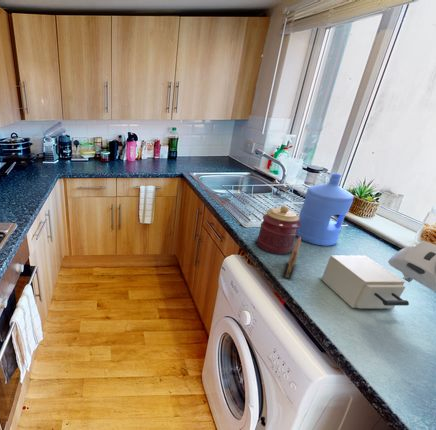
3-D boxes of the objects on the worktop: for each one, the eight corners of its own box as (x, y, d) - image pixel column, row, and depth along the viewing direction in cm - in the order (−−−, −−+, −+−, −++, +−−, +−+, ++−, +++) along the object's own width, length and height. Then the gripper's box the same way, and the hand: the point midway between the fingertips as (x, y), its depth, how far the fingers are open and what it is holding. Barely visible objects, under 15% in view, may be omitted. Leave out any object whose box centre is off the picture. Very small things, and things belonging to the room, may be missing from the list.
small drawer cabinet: (390, 307, 85) (405, 281, 81) (352, 307, 84) (365, 281, 80) (354, 279, 97) (365, 255, 93) (321, 279, 97) (330, 255, 93)
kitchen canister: (298, 248, 115) (311, 208, 107) (281, 258, 108) (294, 216, 100) (266, 235, 124) (277, 197, 117) (249, 243, 118) (259, 204, 110)
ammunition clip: (288, 263, 105) (297, 234, 100) (294, 264, 104) (303, 236, 99) (283, 277, 97) (293, 246, 92) (289, 279, 96) (300, 248, 91)
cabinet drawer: (407, 319, 79) (420, 297, 76) (371, 319, 79) (383, 297, 76) (359, 281, 94) (368, 261, 91) (328, 281, 94) (336, 261, 91)
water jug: (291, 239, 122) (312, 175, 110) (295, 225, 134) (314, 167, 122) (336, 250, 114) (363, 183, 102) (336, 235, 126) (360, 173, 114)
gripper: (545, 304, 53) (497, 316, 64) (414, 235, 65) (392, 256, 76) (521, 327, 53) (476, 335, 64) (394, 254, 65) (375, 272, 76)
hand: (430, 291), depth 70 cm, fingers open, 8 cm apart
